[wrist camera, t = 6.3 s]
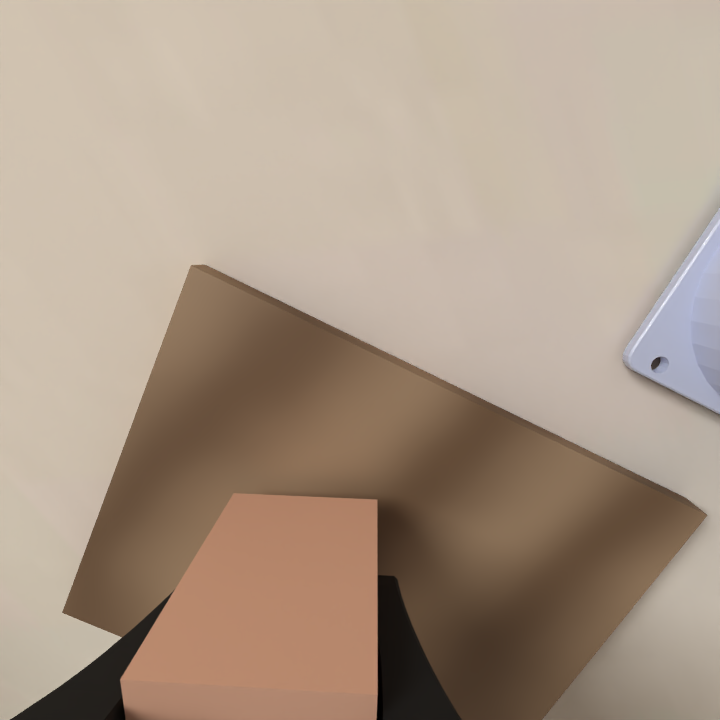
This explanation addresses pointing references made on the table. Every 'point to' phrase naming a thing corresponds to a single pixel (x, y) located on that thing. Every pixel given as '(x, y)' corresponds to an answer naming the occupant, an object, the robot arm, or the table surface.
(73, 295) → the table surface
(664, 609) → the table surface
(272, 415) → the board
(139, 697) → the block
